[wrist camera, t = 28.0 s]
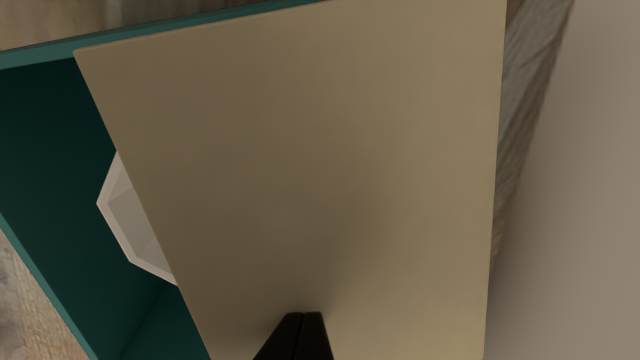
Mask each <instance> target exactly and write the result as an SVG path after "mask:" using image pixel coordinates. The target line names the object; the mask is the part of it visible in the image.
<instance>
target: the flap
mask: <svg viewBox="0 0 640 360" xmlns="http://www.w3.org/2000/svg"><path fill="white" fill-rule="evenodd" d="M506 7H507V0H326V1H321V2H316V3H311V4H306V5H300V6H295V7H290V8H285V9H280V10H274V11H269V12H264V13H259V14H254V15H248V16H243V17H238V18H233V19H228V20H222V21H217V22H212V23H207V24H202V25H196V26H191V27H186V28H181V29H176V30H170V31H165V32H160V33H155V34H150V35H144V36H139V37H134V38H129V39H124V40H118V41H113V42H108V43H103V44H98V45H92V46H87V47H82V48H78V49H75V50H74V51H73V55H74V57H75V59H76V62H77V64H78V66H79V68H80V71H81V73H82V75H83V77H84V79H85V82H86V84H87V86H88V88H89V90H90V93H91V95H92V97H93V99H94V101H95V104H96V106H97V108H98V110H99V113H100V115H101V117H102V119H103V121H104V124H105V126H106V128H107V130H108V132H109V135H110V137H111V139H112V141H113V143H114V146H115V148H116V150H117V152H118V155H119V157H120V159H121V161H122V163H123V166H124V168H125V170H126V172H127V174H128V177H129V179H130V181H131V183H132V186H133V188H134V190H135V192H136V194H137V197H138V199H139V201H140V203H141V205H142V208H143V210H144V212H145V214H146V216H147V219H148V221H149V223H150V225H151V228H152V230H153V232H154V234H155V236H156V239H157V241H158V243H159V245H160V247H161V250H162V252H163V254H164V256H165V259H166V261H167V263H168V265H169V267H170V270H171V272H172V274H173V276H174V278H175V281H176V283H177V285H178V287H179V289H180V292H181V294H182V296H183V298H184V301H185V303H186V305H187V307H188V309H189V312H190V314H191V316H192V318H193V320H194V323H195V325H196V327H197V329H198V331H199V334H200V336H201V338H202V340H203V343H204V345H205V347H206V349H207V351H208V354H209V356H210V358H211V360H252V359H253V358H254V357H255V355H256V354H257V353H258V351H259V350H260V349H261V347H262V346H263V344H264V343H265V342H266V340H267V339H268V338H269V336H270V335H271V334H272V332H273V331H274V329H275V328H276V327H277V325H278V324H279V323H280V321H281V320H282V318H283V317H284V316H285V315H286V314H287V313H290V312H303V313H305V312H314V311H320V312H321V313H322V316H323V320H324V324H325V327H326V331H327V335H328V338H329V342H330V346H331V349H332V353H333V357H334V360H483V355H484V340H485V325H486V309H487V295H488V280H489V265H490V249H491V234H492V219H493V204H494V189H495V174H496V159H497V144H498V128H499V113H500V98H501V83H502V68H503V53H504V38H505V23H506Z"/></svg>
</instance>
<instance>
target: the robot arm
mask: <svg viewBox="0 0 640 360" xmlns="http://www.w3.org/2000/svg"><path fill="white" fill-rule="evenodd" d="M252 360H334V357H333V353H332V349H331V346H330V342H329V338H328V335H327V331H326V327H325V324H324V320H323V316H322V313H321V312H320V311H314V312H305V313H303V312H290V313H287V314H286V315H285V316H284V317H283V318H282V320H281V321H280V323H279V324H278V325H277V327H276V328H275V329H274V331H273V332H272V334H271V335H270V336H269V338H268V339H267V340H266V342H265V343H264V344H263V346H262V347H261V349H260V350H259V351H258V353H257V354H256V355H255V357H254V358H253V359H252Z"/></svg>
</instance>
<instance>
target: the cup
mask: <svg viewBox="0 0 640 360" xmlns="http://www.w3.org/2000/svg"><path fill="white" fill-rule="evenodd" d="M96 204H97V206H98V207H99V209H100V211H101V213H102V214H103V216H104V218H105V220H106V221H107V223H108V225H109V227H110V228H111V230H112V232H113V234H114V235H115V237H116V239H117V241H118V242H119V244H120V246H121V248H122V249H123V251H124V253H125V255H126V256H127V258H128V260H129V262H131V263H133V264H135V265H137V266H139V267H141V268H143V269H145V270H147V271H149V272H151V273H153V274H155V275H157V276H159V277H161V278H163V279H164V280H166V281H168V282H170V283H172V284H174V285H176V286H178V285H177V283H176V281H175V278H174V276H173V274H172V272H171V270H170V267H169V265H168V263H167V261H166V259H165V256H164V254H163V252H162V250H161V247H160V245H159V243H158V241H157V239H156V236H155V234H154V232H153V230H152V228H151V225H150V223H149V221H148V219H147V216H146V214H145V212H144V210H143V208H142V205H141V203H140V201H139V199H138V197H137V194H136V192H135V190H134V188H133V186H132V183H131V181H130V179H129V177H128V174H127V172H126V170H125V168H124V166H123V163H122V161H121V159H120V157H119V155H118V152H116V154H115V157H114V159H113V162H112V164H111V167H110V169H109V172H108V174H107V177H106V179H105V182H104V185H103V187H102V190H101V192H100V195H99V197H98V200H97V202H96Z"/></svg>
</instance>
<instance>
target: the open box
mask: <svg viewBox="0 0 640 360" xmlns="http://www.w3.org/2000/svg"><path fill="white" fill-rule="evenodd" d="M321 1H326V0H270V1H265V2H259V3H253V4H248V5H242V6H237V7H231V8H226V9H220V10H215V11H209V12H204V13H198V14H193V15H187V16H181V17H176V18H170V19H165V20H159V21H154V22H148V23H143V24H137V25H132V26H126V27H120V28H115V29H109V30H104V31H99V32H94V33H88V34H83V35H78V36H73V37H68V38H63V39H58V40H53V41H48V42H43V43H38V44H33V45H28V46H23V47H18V48H13V49H8V50H3V51H0V228H1V230H2V231H3V233H4V234H5V235H6V237H7V238H8V240H9V241H10V243H11V244H12V246H13V247H14V249H15V250H16V252H17V253H18V255H19V256H20V257H21V259H22V260H23V262H24V263H25V265H26V266H27V268H28V269H29V271H30V272H31V274H32V275H33V277H34V278H35V279H36V281H37V282H38V284H39V285H40V287H41V288H42V290H43V291H44V293H45V294H46V296H47V297H48V298H49V300H50V301H51V303H52V304H53V306H54V307H55V309H56V310H57V312H58V313H59V315H60V316H61V318H62V319H63V320H64V322H65V323H66V325H67V326H68V328H69V329H70V331H71V332H72V334H73V335H74V337H75V338H76V339H77V341H78V342H79V344H80V345H81V347H82V348H83V350H84V351H85V353H86V354H87V356H88V357H89V359H90V360H211V358H210V356H209V354H208V351H207V349H206V347H205V345H204V343H203V340H202V338H201V336H200V334H199V331H198V329H197V327H196V325H195V323H194V320H193V318H192V316H191V314H190V312H189V309H188V307H187V305H186V303H185V301H184V298H183V296H182V294H181V292H180V289H179V287H178V286H176V285H174V284H172V283H170V282H168V281H166V280H164V279H163V278H161V277H159V276H157V275H155V274H153V273H151V272H149V271H147V270H145V269H143V268H141V267H139V266H137V265H135V264H133V263H131V262H129V260H128V258H127V256H126V255H125V253H124V251H123V249H122V248H121V246H120V244H119V242H118V241H117V239H116V237H115V235H114V234H113V232H112V230H111V228H110V227H109V225H108V223H107V221H106V220H105V218H104V216H103V214H102V213H101V211H100V209H99V207H98V206H97V204H96V202H97V200H98V197H99V195H100V192H101V190H102V187H103V185H104V182H105V179H106V177H107V174H108V172H109V169H110V167H111V164H112V162H113V159H114V157H115V154H116V152H117V150H116V148H115V146H114V143H113V141H112V139H111V137H110V135H109V132H108V130H107V128H106V126H105V124H104V121H103V119H102V117H101V115H100V113H99V110H98V108H97V106H96V104H95V101H94V99H93V97H92V95H91V93H90V90H89V88H88V86H87V84H86V82H85V79H84V77H83V75H82V73H81V71H80V68H79V66H78V64H77V62H76V59H75V57H74V55H73V51H74V50H75V49H78V48H82V47H87V46H92V45H98V44H103V43H108V42H113V41H118V40H124V39H129V38H134V37H139V36H144V35H150V34H155V33H160V32H165V31H170V30H176V29H181V28H186V27H191V26H196V25H202V24H207V23H212V22H217V21H222V20H228V19H233V18H238V17H243V16H248V15H254V14H259V13H264V12H269V11H274V10H280V9H285V8H290V7H295V6H300V5H306V4H311V3H316V2H321Z"/></svg>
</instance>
